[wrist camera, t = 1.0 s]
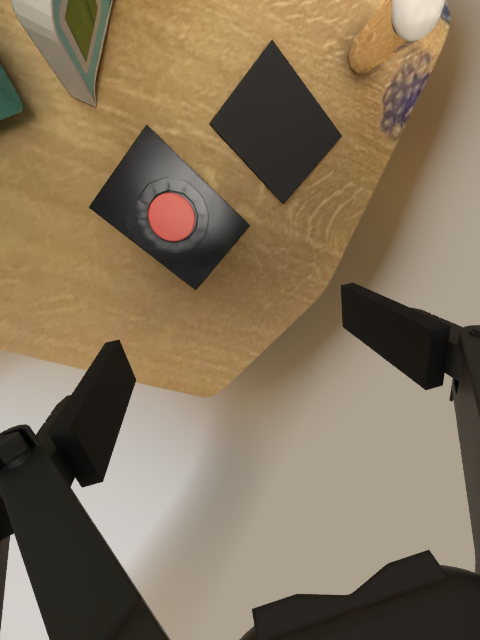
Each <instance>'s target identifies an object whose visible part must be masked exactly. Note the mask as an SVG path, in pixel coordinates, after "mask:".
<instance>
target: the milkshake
mask: <svg viewBox="0 0 480 640" xmlns="http://www.w3.org/2000/svg"><path fill="white" fill-rule="evenodd" d="M444 2H445V0H385V2H384V3H383V4H382V6H381V7H380V8H379V10H378V11H377V12H376V13H375V15H374V16H373V17H372V18H371V20H370V21H369V22H368V23H367V25H366V26H365V27H364V28H363V30H362V31H361V32H360V34H359V35H358V36H357V37H356V39H355V40H354V41H353V42H352V44H351V48H350V51H349V54H348V57H349V63H350V67H351V68H352V69H353V70H354V71H355V72H356V73H366V72H368V71H369V70H371V69H372V68H374V67H376V66H377V65H379V64H380V63H382V62H383V61H385V60H387V59H388V58H390V57H391V56H393V55H394V54H396V53H398V52H399V51H401V50H403V49H404V48H406V47H408V46H410V45H411V44H413V43H415V42H417V41H418V40H420V39H422V38H424V37H425V36H426V35H427V34H428V33H430V32H431V31H432V30H433V28H434V27H435V26H436V24H437V22H438V20H439V18H440V15H441V12H442V9H443V6H444Z"/></svg>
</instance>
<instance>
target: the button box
mask: <svg viewBox="0 0 480 640" xmlns="http://www.w3.org/2000/svg"><path fill="white" fill-rule="evenodd" d="M164 193H175V194H178V195H181V196H182V197H184V198H185V199H186V200H187V201H188V202H189V203H190V204H191V206H192V208H193V211H194V214H195V224H194V227H193V230H192V232H191V233H190V234H189V235H188V236H187V237H186V238H184V239H182V240H180V241H167V240H164V239H162V238H161V237H159V236H158V235H157V234H156V233H155V232H154V231H153V229H152V228H151V226H150V223H149V219H148V211H149V207H150V204H151V203H152V201H153V200H154V199H155V198H156V197H157V196H159V195H161V194H164ZM89 208H90V209H91V210H93V211H94V212H95V213H97V214H98V215H99V216H101V217H102V218H103V219H104V220H106V221H107V222H108V223H110V224H111V225H112V226H113V227H115V228H116V229H117V230H119V231H120V232H121V233H123V234H124V235H125V236H126V237H128V238H129V239H130V240H132V241H133V242H134V243H135V244H137V245H138V246H139V247H141V248H142V249H143V250H144V251H146V252H147V253H148V254H150V255H151V256H152V257H154V258H155V259H156V260H157V261H159V262H160V263H161V264H163V265H164V266H165V267H166V268H168V269H169V270H170V271H172V272H173V273H174V274H175V275H177V276H178V277H179V278H181V279H182V280H183V281H185V282H186V283H187V284H188V285H190V286H191V287H192V288H194V289H195V290H197V288H198V287H199V286H200V285H201V284H202V283H203V281H204V280H205V279H206V278H207V277H208V275H209V274H210V273H211V272H212V271H213V269H214V268H215V267H216V266H217V265H218V263H219V262H220V261H221V260H222V259H223V258H224V256H225V255H226V254H227V253H228V252H229V250H230V249H231V248H232V247H233V246H234V244H235V243H236V242H237V241H238V240H239V238H240V237H241V236H242V235H243V234H244V233H245V231H246V230H247V229H248V228H249V227H250V225H249V224H248V223H247V222H246V221H245V220H244V219H243V218H242V217H241V216H240V215H239V214H238V213H237V212H236V211H235V210H234V209H233V208H232V207H231V206H230V205H229V204H228V203H227V202H226V201H225V200H223V199H222V198H221V197H220V196H219V195H218V194H217V193H216V192H215V191H214V190H213V189H212V188H211V187H210V186H209V185H208V184H207V183H206V182H205V181H204V180H203V179H202V178H201V177H200V176H199V175H198V174H197V173H196V172H195V171H194V170H193V169H192V168H191V167H190V166H189V165H188V164H187V163H186V162H184V161H183V160H182V159H181V158H180V157H179V156H178V155H177V154H176V153H175V152H174V151H173V150H172V149H171V148H170V147H169V146H168V145H167V144H166V143H165V142H164V141H163V140H162V139H161V138H160V137H159V136H158V135H157V134H156V133H155V132H154V131H153V130H152V129H151V128H150V127H149V126H148V125H146V126H145V128H144V129H143V130H142V132H141V133H140V135H139V136H138V138H137V139H136V140H135V142H134V143H133V145H132V146H131V148H130V149H129V150H128V152H127V153H126V155H125V156H124V158H123V159H122V161H121V162H120V163H119V165H118V166H117V168H116V169H115V171H114V172H113V173H112V175H111V176H110V178H109V179H108V181H107V182H106V183H105V185H104V186H103V188H102V189H101V191H100V192H99V193H98V195H97V196H96V198H95V199H94V201H93V202H92V203H91V205H90V206H89Z"/></svg>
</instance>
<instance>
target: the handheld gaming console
mask: <svg viewBox="0 0 480 640" xmlns="http://www.w3.org/2000/svg"><path fill="white" fill-rule="evenodd" d="M11 3H12V7H13V10H14V12H15V14H16V16H17V18H18V20H19V22H20V23H21V25H22V26H23V28H24V29H25V31H26V32H27V34H28V35H29V36H30V38H31V39H32V41H33V42H34V44H35V45H36V46H37V48H38V49H39V51H40V52H41V54H42V55H43V57H44V58H45V59H46V61H47V62H48V64H49V65H50V67H51V68H52V70H53V71H54V72H55V74H56V75H57V77H58V78H59V80H60V81H61V83H62V84H63V85H64V87H65V88H66V90H67V91H68V93H69V94H70V95H71V96H72V97H74V98H76V99H79V100H81V101H83V102H85V103H87V104H89V105H92V106H94V107H96V104H97V101H96V96H95V81H96V75H97V71H98V66H99V62H100V57H101V53H102V48H103V44H104V39H105V35H106V30H107V26H108V21H109V17H110V12H111V8H112V3H113V0H11Z"/></svg>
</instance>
